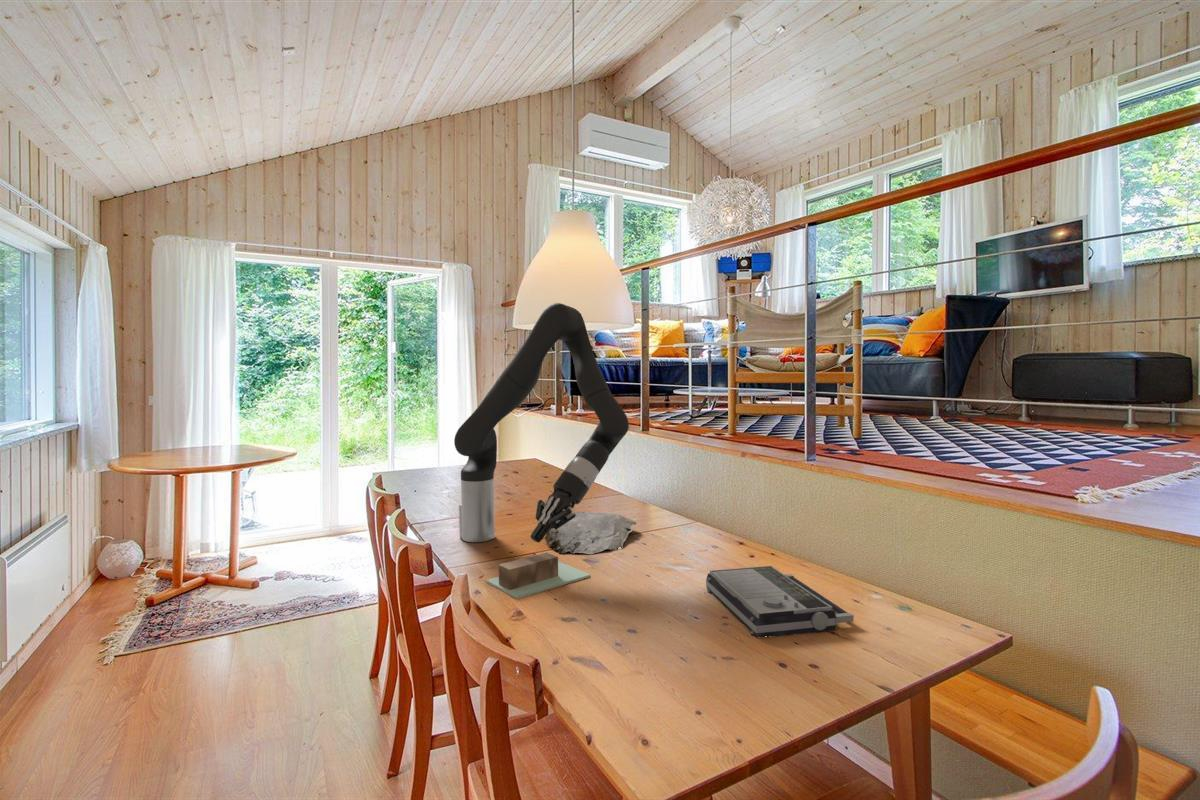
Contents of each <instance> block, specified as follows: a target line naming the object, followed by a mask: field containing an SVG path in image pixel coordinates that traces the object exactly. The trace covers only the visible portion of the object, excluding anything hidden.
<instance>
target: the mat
mask: <svg viewBox="0 0 1200 800" xmlns="http://www.w3.org/2000/svg"><path fill="white" fill-rule="evenodd" d="M584 578H585V579H588V578H591V574H589V573H587V572H585V571H583V570H581V569H578V568H575V567H573V566H570V565H568V564H566V563H563V562H561V561H560V560H558V576H557V577H553V578H550V579H546V580H543V581H540V582H536V583H533V584H529V585H526V586H522V587H519V588H516V589H512V590H509V589H507V588H505V587H503V586H501V585H499V576H495V577H492V578H488V579H486V580H485V582H486V583H487V584H489V585H490V586H493V587H494V588H495V589H498V590H500V591H502V592H504V593H505V594H507V595H509V596H511V597H513V598H515V599H516V600H518V599H520V598H524V597H527V596H530V595H534V594H538V593H540V592H545V591H547V590H551V589H554V588H557V587H561V586H564V585H568V584H571V583H574V582H575V583H576V582H578V581H581V580H584Z"/></svg>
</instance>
